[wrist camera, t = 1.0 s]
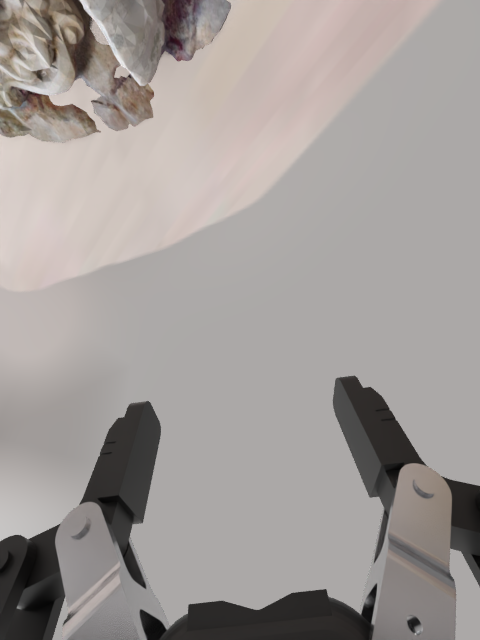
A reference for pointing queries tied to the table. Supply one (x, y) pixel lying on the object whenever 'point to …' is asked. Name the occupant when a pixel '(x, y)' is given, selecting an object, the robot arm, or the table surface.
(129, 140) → the table surface
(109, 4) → the grey rough lump
